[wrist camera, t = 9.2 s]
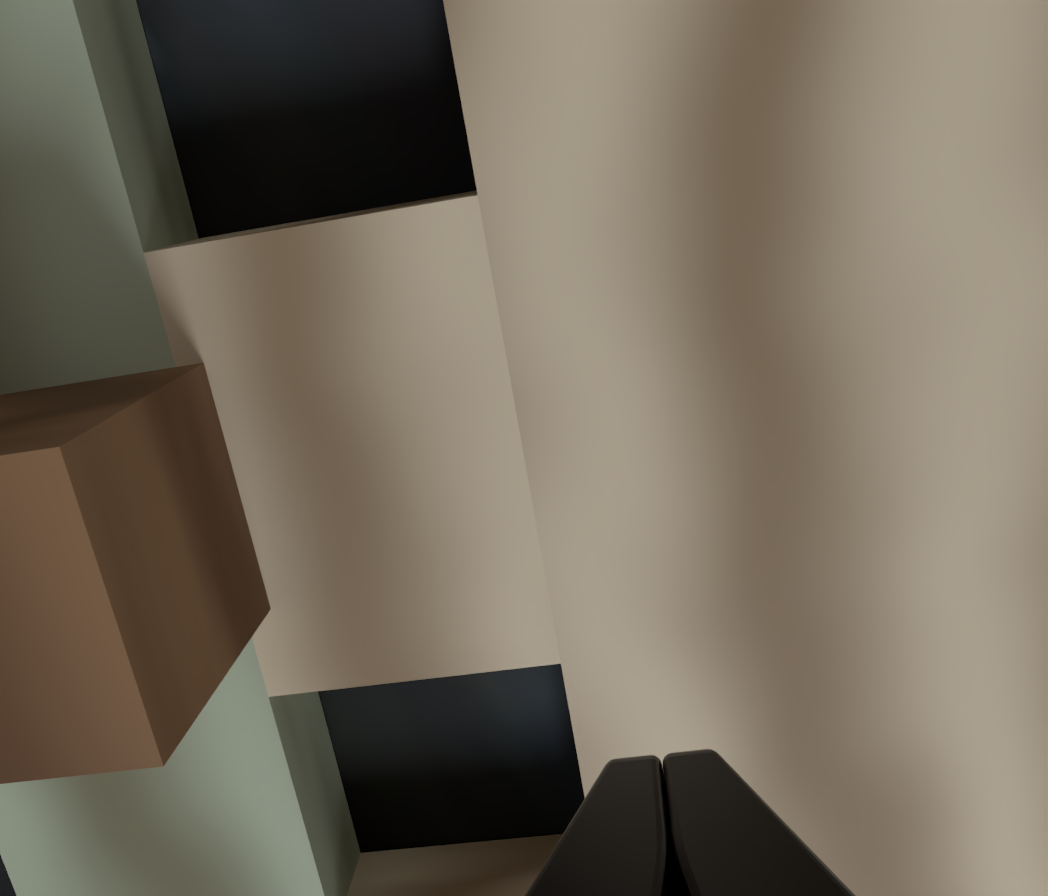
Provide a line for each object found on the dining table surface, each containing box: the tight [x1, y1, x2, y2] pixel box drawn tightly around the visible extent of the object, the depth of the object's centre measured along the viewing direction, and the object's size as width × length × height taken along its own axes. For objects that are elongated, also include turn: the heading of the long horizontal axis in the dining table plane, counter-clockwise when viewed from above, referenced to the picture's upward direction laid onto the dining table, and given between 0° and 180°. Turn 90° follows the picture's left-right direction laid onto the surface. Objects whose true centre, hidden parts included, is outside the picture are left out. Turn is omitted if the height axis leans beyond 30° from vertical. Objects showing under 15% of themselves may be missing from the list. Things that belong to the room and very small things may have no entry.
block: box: [0, 363, 271, 784], centre depth 16 cm, size 5×5×5 cm
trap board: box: [0, 0, 1048, 896], centre depth 19 cm, size 23×23×2 cm
